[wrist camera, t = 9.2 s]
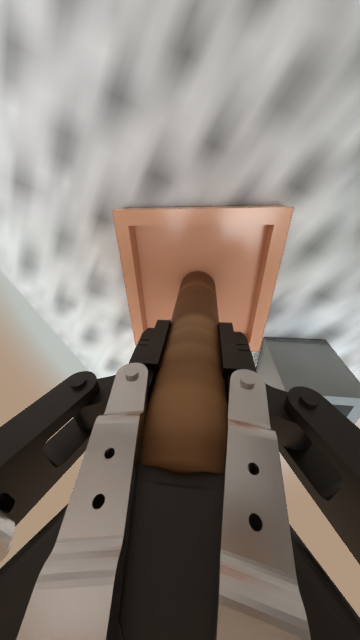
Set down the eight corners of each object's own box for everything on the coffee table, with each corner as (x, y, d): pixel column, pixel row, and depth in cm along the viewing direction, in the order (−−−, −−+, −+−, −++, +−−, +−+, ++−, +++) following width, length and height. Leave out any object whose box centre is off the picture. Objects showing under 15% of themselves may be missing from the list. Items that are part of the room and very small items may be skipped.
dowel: (179, 271, 17) (121, 454, 5) (216, 271, 17) (244, 467, 5) (180, 303, 18) (137, 500, 7) (214, 304, 18) (230, 512, 6)
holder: (263, 337, 21) (286, 393, 15) (325, 340, 21) (373, 399, 15) (254, 377, 24) (269, 436, 19) (307, 380, 24) (340, 443, 18)
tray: (123, 207, 16) (112, 209, 14) (282, 204, 15) (294, 207, 13) (141, 331, 23) (135, 345, 21) (253, 336, 21) (259, 351, 19)
